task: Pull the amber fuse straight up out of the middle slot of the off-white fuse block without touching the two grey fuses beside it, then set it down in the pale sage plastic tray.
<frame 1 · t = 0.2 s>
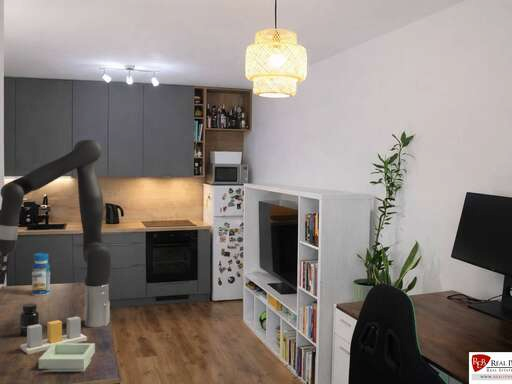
supplement bottle: (29, 336, 191), on the table
fuse block: (54, 346, 180), on the table
blue vitamin bottle: (41, 294, 250), on the table
amber fuse: (54, 344, 180), point 1 cm above the table, touching fuse block
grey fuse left: (34, 348, 175), point 1 cm above the table, touching fuse block
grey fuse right: (73, 339, 185), point 1 cm above the table, touching fuse block
sage tray: (68, 362, 166), on the table
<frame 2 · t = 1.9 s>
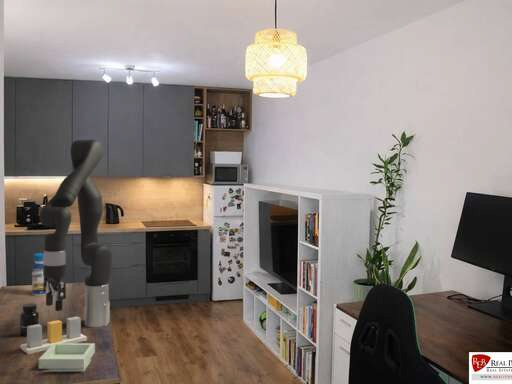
hand: (53, 308, 179), 14 cm above the table, tool pointing down, fingers open, 8 cm apart
nothing on the table moved.
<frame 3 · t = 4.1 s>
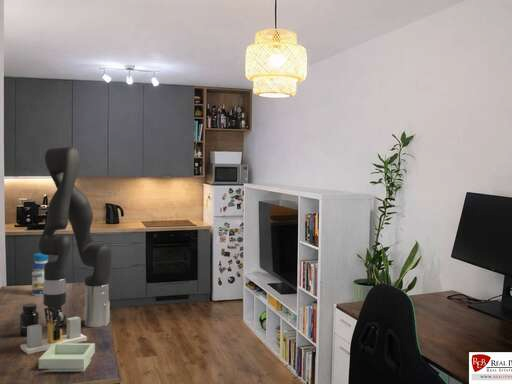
hand: (54, 338, 180), 3 cm above the table, tool pointing down, fingers closed on amber fuse, 3 cm apart
amber fuse: (54, 344, 180), point 1 cm above the table, touching gripper
everything else where it was.
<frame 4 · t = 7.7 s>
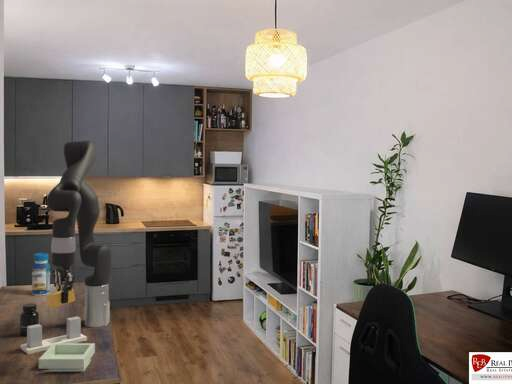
hand: (62, 301, 168), 20 cm above the table, tool pointing down, fingers closed on amber fuse, 2 cm apart
amber fuse: (48, 301, 165), point 21 cm above the table, tilted 80°, touching gripper
everything else where it was.
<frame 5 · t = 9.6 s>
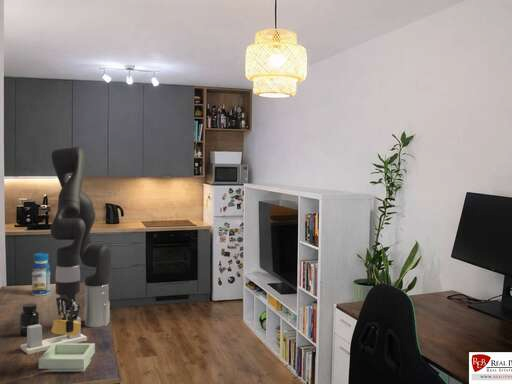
hand: (67, 330, 166), 11 cm above the table, tool pointing down, fingers closed on amber fuse, 3 cm apart
amber fuse: (54, 326, 163), point 13 cm above the table, tilted 107°, touching gripper
everything else where it was.
when the fingers open (5 cm above the table, at t = 11.4 s): amber fuse drops 2 cm and tips over, resting on sage tray.
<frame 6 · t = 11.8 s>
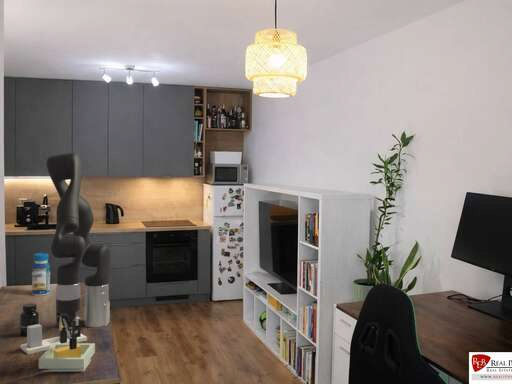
hand: (68, 345, 166), 6 cm above the table, tool pointing down, fingers open, 7 cm apart
amber fuse: (55, 356, 163), point 3 cm above the table, tilted 90°, touching sage tray
everything else where it was.
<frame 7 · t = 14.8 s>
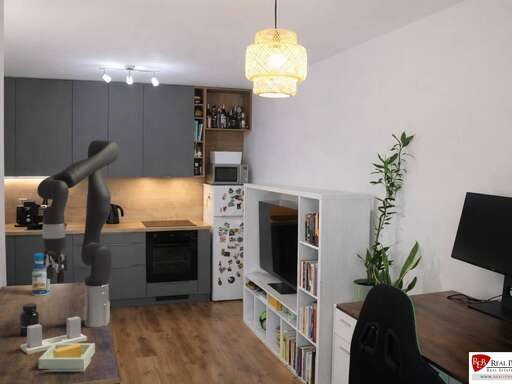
hand: (55, 280, 180), 24 cm above the table, tool pointing down, fingers open, 8 cm apart
nothing on the table moved.
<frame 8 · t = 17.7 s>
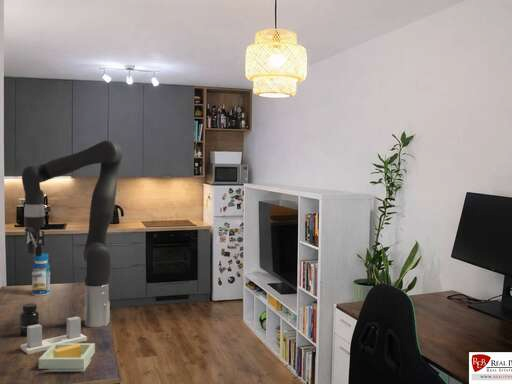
hand: (34, 254, 205), 28 cm above the table, tool pointing down, fingers open, 8 cm apart
nothing on the table moved.
at the end: amber fuse inside the target area on the sage tray (4.2 cm from its centre), point 3.0 cm above the sage tray's base; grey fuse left moved 0.0 cm from its start; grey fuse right moved 0.0 cm from its start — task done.
